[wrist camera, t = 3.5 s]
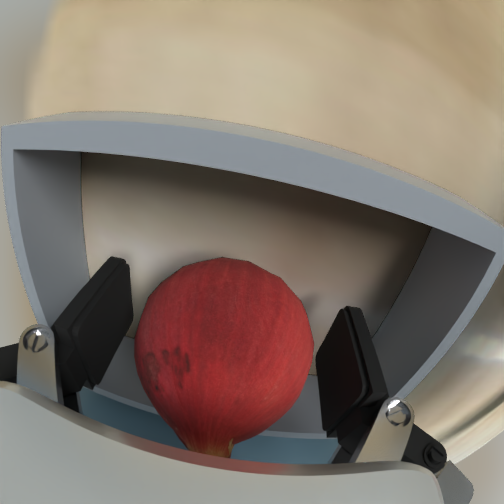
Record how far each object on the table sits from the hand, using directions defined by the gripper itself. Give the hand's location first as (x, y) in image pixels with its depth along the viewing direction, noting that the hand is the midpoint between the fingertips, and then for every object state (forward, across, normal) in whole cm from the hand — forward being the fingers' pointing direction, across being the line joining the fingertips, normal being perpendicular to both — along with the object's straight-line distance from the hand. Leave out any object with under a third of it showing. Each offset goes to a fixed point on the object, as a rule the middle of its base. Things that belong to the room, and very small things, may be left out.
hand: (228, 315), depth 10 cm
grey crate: (+2, 0, 0) cm, 2 cm away
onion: (+2, 0, 0) cm, 2 cm away
